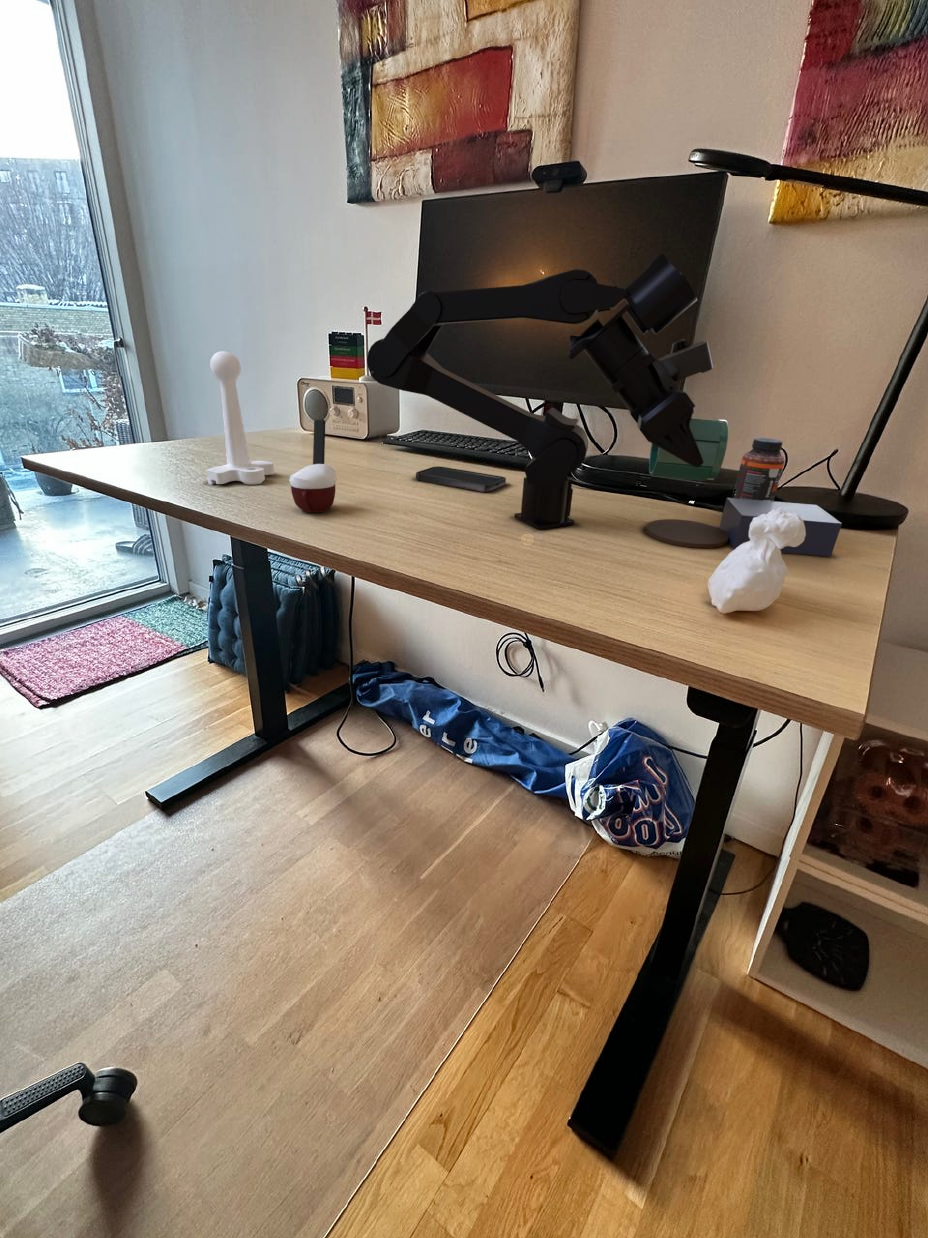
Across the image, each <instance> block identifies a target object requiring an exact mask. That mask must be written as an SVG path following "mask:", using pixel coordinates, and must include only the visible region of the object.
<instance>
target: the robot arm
mask: <svg viewBox="0 0 928 1238" xmlns="http://www.w3.org/2000/svg"><path fill="white" fill-rule="evenodd" d="M624 301H625V303H626V305H625V306H624V307H622V308H621V309H620V310H619V311H618V312H617V313H615V315H613V316H612V317H611V318H610V319H608V320H607V322H606V323H605V324H603V323H602V321H601V320H600V319H599V318H597V319H596V320H595V321H594V322H593V323H591V324H590V325H589V326H588V327H587V328H586V329H585V330H584V331H583V332H581V334H579V335H576V334H571V335H570V336H569V343H570V345H569V353H568V359H570V360H574V359H575V358H576V357H577V356H578V355H580V353H582V352H583V351H584V352H585V354H586V355H587V356H588V358H589V359H590V360H591V362H592V363H593V364H594V366H595V367H596V368H597V370H598V371H599V372H600V374H601V375H602V376H603V378H604V379H605V381H606V382H607V383H608V384H609V386H610V387H611V389H612V390H613V391H614V393H615V394H616V395H617V397H619V399H620V401H621V402H622V403H623V404H624V406H625V408H626V409H627V410H628V412H629V415H630V416H631V417H632V418H633V420H634V422H635V423H636V424H637V429H638V430H639V431H640V433H641V434H642V435H643V437H644V438H645V439H646V441H647V442H648V443H651V445H652V444H654V445H656V446H658V447H660V448H662V449H663V450H665V451H667V452H669V453H671V454H672V455H674V456H676V457H678V458H680V459H681V460H683V461H685V462H687V463H689V464H690V465H692V466H694V467H696V468H697V467H699V466H700V465H702V464H703V463H704V461H703V459H702V456H701V454H700V451H699V449H698V446H697V444H696V442H695V439H694V437H693V434H692V432H691V429H690V421H691V418H692V416H693V414H694V413H695V408H696V405H695V403H694V401H692V399H691V397H690V396H689V394H688V393H687V392H686V391H684V390H680V389H676V388H677V387H678V384H677V383H676V382H678V381H681V380H683V379H686V378H689V377H691V376H694V375H697V374H699V373H701V374H703V373H706V372H709V371H712V370H713V369H714V365H713V361H712V355H711V351H710V347H709V342H708V341H699V342H695V343H694V344H691V343H690V342H689V341H688V340H687V339H686V338H683V339H680V340H678V341H675V342H673V343H672V345H671V349H670V353H668V354H665V355H664V356H662V357H660V358H658V357H657V356H656V353H652V352H649V351H648V350H647V349H646V347H645V345H644V344H643V343H642V342H641V340H640V339H639V337H638V336H637V334H636V333H635V332H634V331H633V329H632V328H631V326H630V325H629V323H628V322H627V320H626V319H625V317H624V316H623V315H624V314H625V313H627V314H628V316H629V317H630V319H631V320H632V322H633V323H634V324H635V326H636V327H637V328H638V330H639V331H640V333H641V334H642V335H643V336H644V335H646V334H647V333H648V332H650V331H652V332H653V334H654V335H656V336H657V335H659V334H660V332H662V331H663V330H664V329H665V328H666V327H669V325H670V324H671V323H672V322H673V321H675V320H676V319H677V318H678V317H679V316H681V315H682V314H683V313H684V312H685V311H687V310H688V309H689V308H690V307H691V306H692V305H693V304H694V303H696V302H697V301H698V297H697V295H696V293H695V291H694V289H693V288H692V286H691V284H690V282H689V281H688V280H687V278H686V277H685V275H684V274H683V272H679V271H678V269H677V268H676V267H675V266H674V264H673V263H671V261H669V259H668V258H667V256H666V254H665V253H662V252H661V253H659V254H658V255H657V257H655V258H654V259H653V260H652V261H651V263H650V264H649V265H648V267H647V268H646V269H645V270H644V271H642V273H641V274H639V275H638V276H637V277H636V278H635V279H634V280H633V281H632V282H631V283H630V284H628V286H626V287H625V288H622V287H619V285H617V284H616V285H615V286H612V285H607V284H601V283H599V282H598V280H597V279H596V277H594V275H593V274H592V273H590V271H588V270H585V269H578V268H577V269H576V268H575V269H571V270H567V271H564V272H561V273H556V274H553V275H550V276H546V277H543V278H541V279H538V280H535V281H532V282H528V283H525V284H522V285H521V284H519V285H509V286H508V285H506V286H496V287H495V286H493V287H483V288H471V289H469V288H468V289H459V290H458V289H456V290H449V291H448V290H446V291H445V290H444V291H435V290H425V291H422V292H420V294H418V296H417V298H416V299H415V301H414V302H413V303H412V304H411V306H410V308H409V309H408V310H407V311H406V312H405V313H404V314H403V315H402V316H401V317H400V319H399V320H398V321H397V322H395V324H394V325H393V326H392V327H391V328H390V329H389V330H388V332H387V333H386V335H385V336H384V337H383V338H381V339H378V340H375V342H374V343H373V344H371V346H370V347H369V350H368V352H367V357H366V363H367V369H368V370H369V375H370V377H371V378H372V380H374V381H375V382H376V383H378V384H380V385H381V386H382V385H383V386H386V387H390V388H393V389H396V390H400V391H403V392H409V393H413V394H417V395H423V396H426V397H429V398H431V399H433V400H435V401H437V402H439V403H441V404H443V405H445V406H447V407H449V408H450V409H453V410H455V411H457V412H459V413H460V414H462V415H465V416H466V417H469V418H470V419H473V420H474V421H476V422H479V423H481V424H482V425H484V426H486V427H489V428H490V429H492V430H494V431H496V432H498V433H501V434H502V435H504V436H506V437H508V438H510V439H512V440H514V441H515V442H517V443H518V444H520V445H521V447H523V448H524V449H525V450H526V451H527V452H528V453H529V454H530V455H531V456H532V458H531V459H530V461H529V462H528V463H527V464H526V466H525V467H524V474H525V477H523V483H522V495H521V505H520V512H517V513H514V516H513V518H515V519H517V520H519V521H521V522H523V523H525V524H527V525H530V526H531V527H534V528H536V529H539V530H544V529H548V528H556V527H563V526H569V525H570V526H571V525H574V524H575V521H576V520H575V519H572V518H571V517H570V516H571V510H572V502H573V493H574V489H573V487H572V486H573V478H571V477H568V475H569V473H570V474H571V473H573V472H575V471H576V470H578V469H579V468H580V467H581V466H582V464H583V463H584V461H585V458H586V456H587V452H588V450H589V438H588V435H587V432H586V430H585V429H584V428H583V427H581V426H580V425H579V424H578V422H579V419H578V418H571V417H568V416H566V415H564V414H563V413H562V412H561V411H559V410H558V409H556V408H554V407H551V408H550V409H549V410H548V411H547V412H546V413H545V415H542V414H536V413H532V412H530V411H528V410H527V409H525V408H522V407H520V406H519V405H517V404H514V403H513V402H511V401H508V400H507V399H504V398H503V397H501V396H498V395H497V394H495V393H493V392H491V391H489V390H487V389H486V388H485V389H484V388H483V387H481V386H480V385H477V384H475V383H473V382H471V381H469V380H467V379H465V378H463V377H461V376H459V375H457V374H455V373H453V372H451V371H449V370H447V369H445V368H444V367H442V366H441V364H439V362H437V361H436V360H435V359H434V358H433V357H432V356H431V355H430V353H428V351H429V350H430V348H431V347H432V345H433V343H434V341H435V339H436V338H437V336H438V334H439V332H440V331H441V329H442V327H444V325H446V324H462V323H475V322H476V323H477V322H491V321H506V320H507V321H509V320H521V319H529V320H536V321H544V322H552V323H558V324H566V325H567V324H568V325H575V326H578V325H584V324H586V323H588V322H590V321H591V320H592V319H593V318H594V317H595V316H596V315H597V313H602V312H608V311H613V310H615V309H616V308H617V307H618V306H619V305H620V304H622V303H623V302H624Z"/></svg>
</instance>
